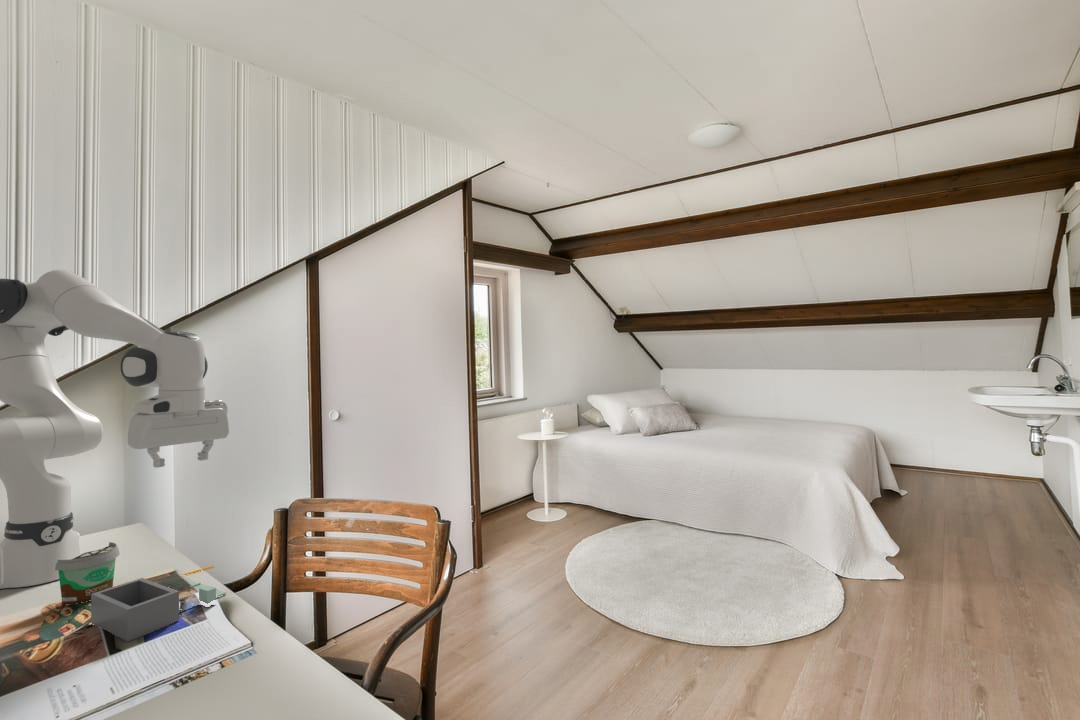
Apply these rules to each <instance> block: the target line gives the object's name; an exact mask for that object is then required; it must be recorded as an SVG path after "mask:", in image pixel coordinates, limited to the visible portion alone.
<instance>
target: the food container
mask: <svg viewBox="0 0 1080 720" xmlns="http://www.w3.org/2000/svg"><path fill="white" fill-rule="evenodd" d="M119 549H120V548H119V547H118V544H117V543H115V542H112V541H109V542H108V546H105V547H103V548H100V549H97V550H93V551H91V550H90V551H87V552H84V553H81V555H80V556H78V557H76V558H73V559H70V560H57V563H56V567H55V570H58V572H59V579H58V580H59V588H60V595H61V596H60V597H61V603H62V604H75V605H77V604H76V603H81V602H86V601H89V600H91V594H93V593H96V592H99V591H102V590H105V589H108V588H111V587H114V577H115V568H116V561H117V560H116V558H118V557H119V556H120V550H119ZM81 604H82V603H81Z"/></svg>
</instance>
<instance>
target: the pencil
mask: <svg viewBox="0 0 1080 720" xmlns="http://www.w3.org/2000/svg"><path fill="white" fill-rule="evenodd" d="M201 569H202V570H203V571H207V570H210V569H214V565H211V566H206V567H203V568H199V569H196V570H192V571H189V572H186V573H183V574H180V575H186V576H188V575H187V574H190V575H192V574H191V573H193V574H196V572H197V573H200V572H202V571H201ZM199 571H200V572H199Z"/></svg>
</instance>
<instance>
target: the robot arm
mask: <svg viewBox="0 0 1080 720" xmlns="http://www.w3.org/2000/svg"><path fill="white" fill-rule="evenodd" d="M68 330H69V331H72V332H74V333H76V334H78V335H81V336H83V337H88V338H93V339H102V340H112V341H119V342H122V343H123V342H124V343H128V344H132V345H134V346H133V347H131V348H129V349H128V350H127V351H126V352H125V353H124V354H123V356H122V357H121V361H120V372H121V377H123V379H124V381H126V383H128V385H130V386H131V387H137V388H158V392H157V393H158V394H157V395H155V396H151V397H148V398H146V399H143V400H140V401H136V402H134V403H133V405H132V412H133V413H134V414H133V415H132V416H131V417H130V420H129V423H128V430H127V445H128V446H129V447H131V449H134V450H145V449H147V451H146V452H147V453H148V455H149V456H150V458H151V459H152V461H153V463H152V465H153V468H155V469H156V468H157V469H158V468H162V467H165V465H166V463H165V462H166V461H165V460H166V458H162V457H160V456H159V453H160V447H161V448H162V447H168V446H175V445H184V444H190V443H191V444H192V443H198V442H199V443H200V442H202V443H201V445H203V447H202V450H200V451H198V452H197V460H198V461H207V460H209V452H210V451H211V449H212V447H213V445H214V440H221V439H226V438H227V437H228V436H229V434H230V426H229V418H228V405H227V404H226V403H225V402H224V401H222V400H219V399H216V400H206V398H205V397H206V396H205V395H206V389H205V387H206V386H205V384H204V379H205V377H206V375H207V373H208V366H209V365H208V360H207V357H206V355H205V348H204V342H203V340H202V338H201V337H200V336H199V335H197V334H196V333H193V332H192V333H191V332H187V331H185V332H184V331H178V330H167V331H164V330H163V329H161V328H160V327H158V326H157V325H155V324H154V323H152V322H151V321H149V320H147V319H146V318H144V317H142V316H141V315H139V314H137V313H135V312H133V311H132V310H130V309H129V308H127V307H126V306H124V305H122V304H121V303H119V302H117V301H116V300H114V299H113V297H111V296H109V295H107V294H106V293H105V292H104V291H103V290H101V289H100V288H99V287H98V286H96V285H95V284H93V283H92V282H91V281H89V280H88V279H86V278H85V277H83V276H81V275H78V274H76V273H75V272H73V271H70V270H67V269H54V270H50V271H46V272H45V273H43V274H42V275H41V276H40V277H39V278H38V279H37V280H36V282H31V281H30V282H27V281H20V280H19V279H12V278H11V279H10V278H0V402H2V403H3V404H5V405H8V406H10V407H15V408H17V409H19V410H21V411H22V412H24V414H26V415H23V416H11V417H10V416H9V417H1V418H0V480H1V482H2V484H3V486H4V488H5V492H6V498H7V509H8V511H7V512H8V521H7V522H6V523H5V527H4V530H3V531H4V534H3V537H4V538H3V540H2V541H1V542H0V590H2V589H10V588H11V589H12V588H23V587H31V586H37V585H42V584H46V583H50V582H54V581H56V580H57V581H58V580H59V572H58V570H55V567H56V563H57V560H70V559H73V558H76V557H78V556H80V555H82V545H81V544H82V543H81V535H80V533H79V532H78V531H76V530H74V529H73V527H74V515H73V512H72V510H71V509H72V508H71V507H72V506H71V503H72V502H71V499H72V497H71V495H72V493H71V484H70V482H69V481H68V480H67V479H66V478H65V477H63V476H61V475H58V474H55V473H50V472H48V471H47V469H46V467H45V464H44V463H45V462H44V461H46V460H51V459H57V458H64V457H71V456H76V455H79V454H82V453H85V452H87V451H88V452H89V451H91V450H95V449H96V448H97V447H98V446H99V445H100V443H101V442H102V440H103V436H104V426H103V424H102V422H101V420H100V419H99V418H98V417H97V416H96V415H94V414H93V413H90V412H87V411H86V410H83V409H82V408H80V407H79V406H77V405H76V404H74V402H72V401H71V400H70V399H69V398H68V397H67V396H66V394H64V393H63V391H62V389H61V388H60V386H59V384H58V381H57V380H56V376H55V373H54V370H53V368H52V364H51V361H50V357H49V355H48V352H47V349H46V345H45V339H46V336H47V335H50V336H53V337H58V336H61V335H62V334H63V333H64V332H65V331H68Z"/></svg>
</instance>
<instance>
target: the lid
mask: <svg viewBox="0 0 1080 720" xmlns="http://www.w3.org/2000/svg"><path fill="white" fill-rule="evenodd" d="M186 581H188V582H189V583H190V584H191V585H192V586H190V587H194V588H196V589H197V590H199V600H200V601H203V602H205V603H207V604H208V603H210V602H211V601H213V600H216V601H217V599H216V594H217V596H221V595H225V594H226V595H227V592H226V591H223V590H221V589H217V588H216V587H214V586H212V585H208V584H206V585H205V584H201V582H196V581H194V580H190V579H188V580H186ZM226 595H225V596H226ZM186 597H187V596H186ZM183 598H184V597H183ZM181 599H182V598H181ZM179 600H180V599H179ZM179 610H182V609H179Z"/></svg>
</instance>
